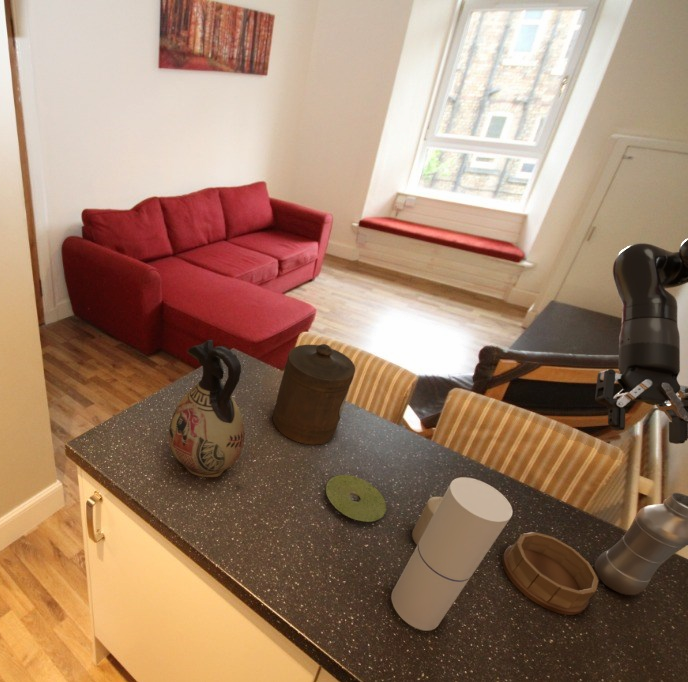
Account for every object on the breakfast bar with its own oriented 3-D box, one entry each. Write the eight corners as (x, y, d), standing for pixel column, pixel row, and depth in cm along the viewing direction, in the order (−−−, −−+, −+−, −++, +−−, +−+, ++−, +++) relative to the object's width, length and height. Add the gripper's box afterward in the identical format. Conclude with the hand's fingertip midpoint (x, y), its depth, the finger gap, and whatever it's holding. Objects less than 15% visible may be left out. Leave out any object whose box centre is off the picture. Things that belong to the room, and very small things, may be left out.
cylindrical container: (392, 619, 68) (454, 510, 56) (390, 578, 74) (446, 470, 62) (443, 638, 67) (519, 529, 54) (436, 594, 72) (504, 487, 60)
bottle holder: (567, 560, 80) (582, 542, 77) (600, 626, 70) (618, 608, 67) (493, 539, 83) (504, 521, 80) (514, 599, 73) (528, 581, 70)
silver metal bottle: (587, 581, 76) (659, 502, 66) (590, 556, 81) (657, 478, 71) (637, 608, 73) (720, 529, 63) (637, 581, 77) (714, 502, 67)
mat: (358, 476, 94) (360, 470, 93) (396, 520, 85) (399, 513, 84) (312, 487, 90) (314, 480, 89) (347, 534, 81) (349, 527, 80)
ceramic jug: (151, 454, 95) (158, 332, 80) (206, 428, 104) (222, 313, 89) (202, 509, 84) (221, 378, 69) (259, 475, 92) (287, 352, 77)
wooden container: (347, 439, 104) (375, 359, 93) (293, 450, 99) (315, 368, 88) (311, 400, 116) (332, 326, 105) (261, 409, 111) (277, 332, 100)
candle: (407, 525, 84) (426, 488, 79) (437, 530, 83) (458, 493, 78) (417, 551, 79) (437, 514, 74) (449, 557, 79) (472, 519, 74)
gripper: (617, 333, 78) (614, 423, 75) (717, 351, 75) (719, 446, 71) (587, 345, 86) (583, 428, 82) (677, 362, 82) (677, 449, 78)
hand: (647, 436), depth 76 cm, fingers open, 8 cm apart
